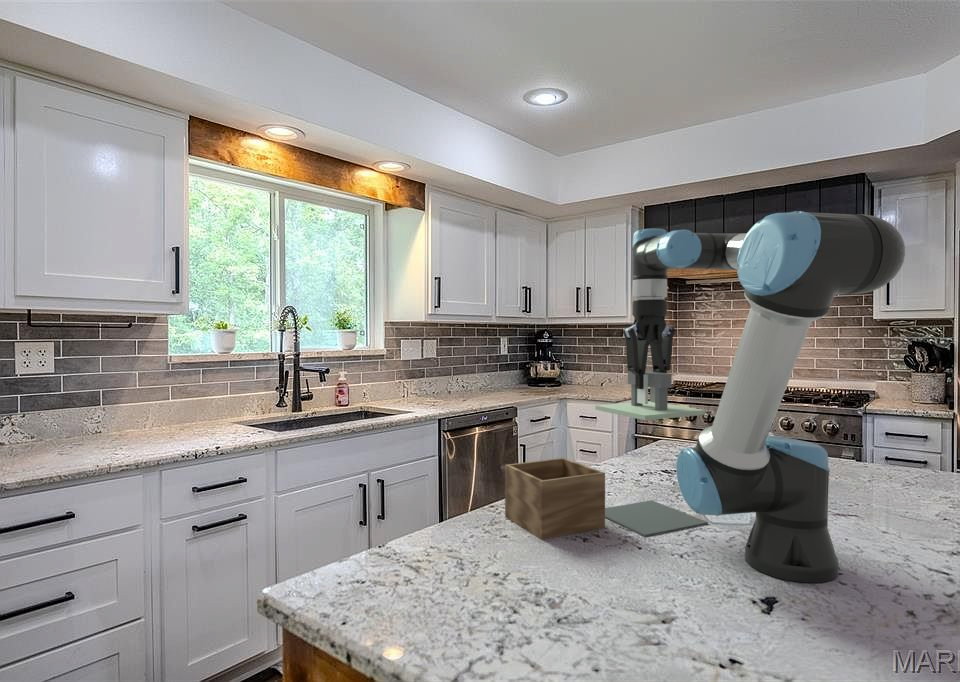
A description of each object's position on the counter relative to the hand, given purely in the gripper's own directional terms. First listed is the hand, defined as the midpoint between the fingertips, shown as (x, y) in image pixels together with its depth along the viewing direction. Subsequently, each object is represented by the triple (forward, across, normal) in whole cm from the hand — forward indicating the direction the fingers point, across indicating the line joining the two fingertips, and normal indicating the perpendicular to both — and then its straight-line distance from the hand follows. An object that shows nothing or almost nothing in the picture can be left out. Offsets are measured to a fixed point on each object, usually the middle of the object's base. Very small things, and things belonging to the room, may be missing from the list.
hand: (649, 402), depth 134 cm
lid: (+2, 0, 0) cm, 2 cm away
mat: (+26, 0, 0) cm, 26 cm away
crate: (+26, +21, -7) cm, 34 cm away
